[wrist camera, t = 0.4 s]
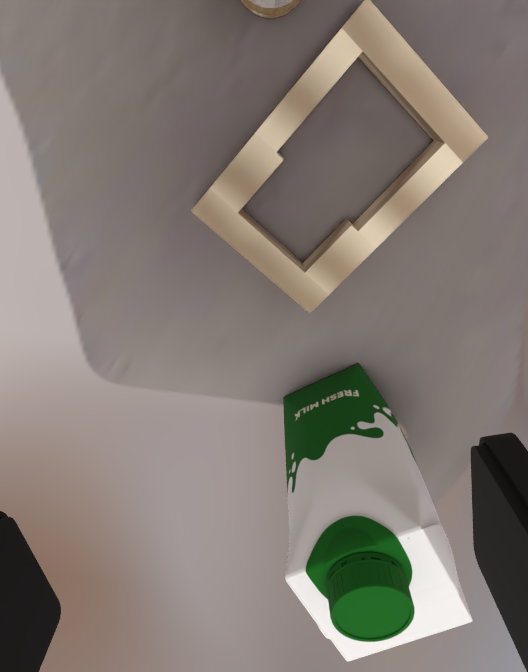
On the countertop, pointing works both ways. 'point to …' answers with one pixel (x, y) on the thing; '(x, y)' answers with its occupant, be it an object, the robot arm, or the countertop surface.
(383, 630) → the milk carton
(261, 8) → the sprinkles bottle
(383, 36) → the wooden frame
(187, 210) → the countertop surface
